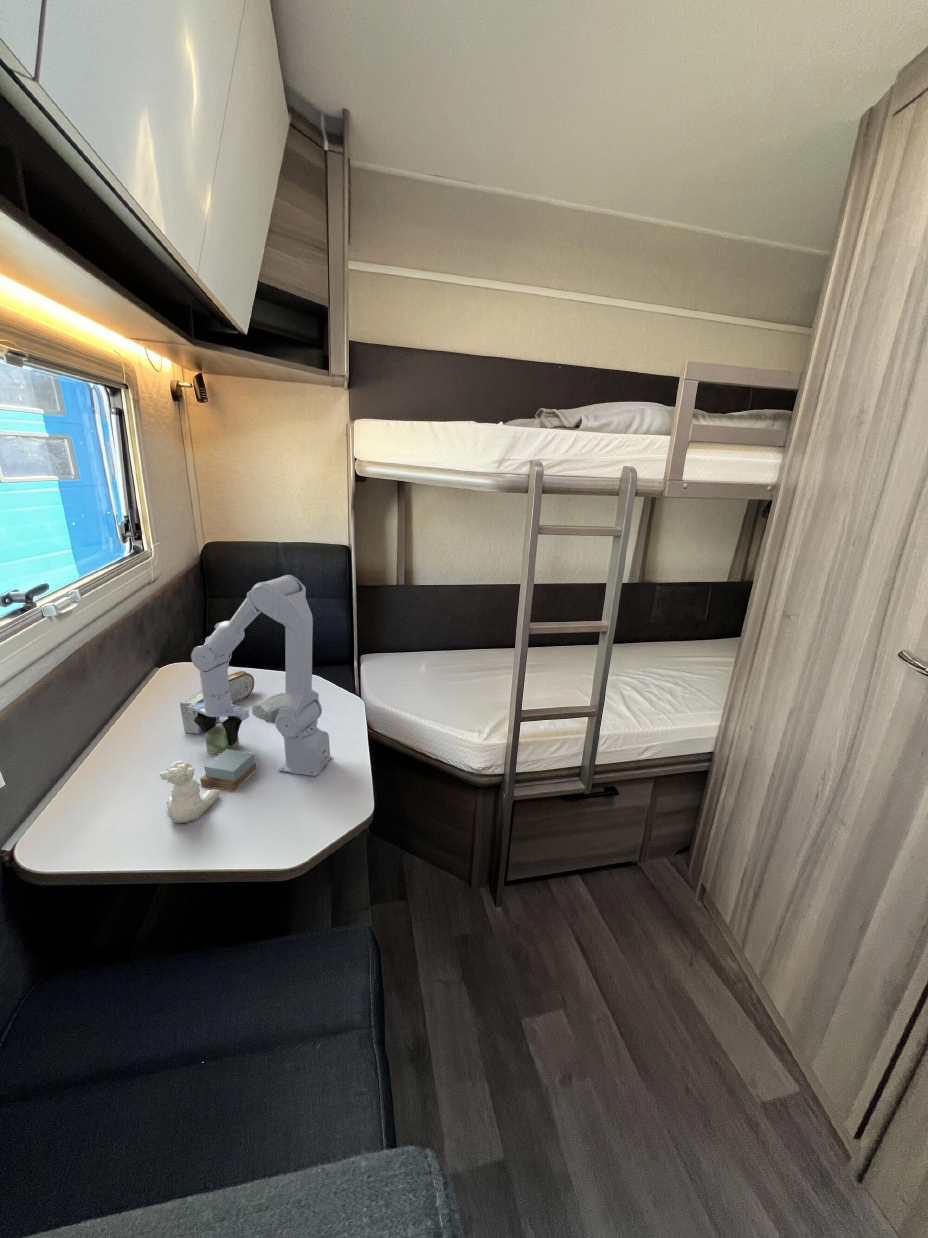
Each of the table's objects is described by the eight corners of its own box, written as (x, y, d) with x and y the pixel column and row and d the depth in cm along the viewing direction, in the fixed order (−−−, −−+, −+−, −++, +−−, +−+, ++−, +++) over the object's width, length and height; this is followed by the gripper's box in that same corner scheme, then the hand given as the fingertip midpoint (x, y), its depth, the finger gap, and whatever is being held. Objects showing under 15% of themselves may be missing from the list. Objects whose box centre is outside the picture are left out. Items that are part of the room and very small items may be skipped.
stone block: (249, 720, 131) (271, 724, 125) (246, 704, 130) (268, 707, 125) (284, 706, 141) (306, 709, 135) (282, 690, 140) (304, 693, 135)
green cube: (239, 743, 116) (236, 725, 114) (225, 754, 111) (223, 736, 110) (220, 741, 117) (218, 723, 115) (207, 752, 112) (204, 733, 111)
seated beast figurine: (221, 795, 97) (214, 744, 94) (212, 823, 89) (204, 769, 86) (169, 802, 95) (161, 750, 91) (155, 831, 87) (145, 776, 83)
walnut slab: (257, 771, 106) (256, 762, 106) (235, 793, 99) (234, 783, 98) (225, 767, 108) (224, 757, 107) (201, 788, 100) (200, 778, 99)
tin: (250, 691, 144) (247, 666, 142) (257, 694, 143) (254, 668, 140) (205, 711, 131) (201, 684, 128) (213, 714, 130) (209, 686, 127)
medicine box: (198, 734, 119) (194, 704, 117) (183, 732, 120) (179, 702, 118) (220, 720, 127) (216, 691, 124) (205, 718, 127) (201, 689, 125)
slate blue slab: (255, 763, 105) (254, 753, 105) (234, 781, 99) (233, 771, 98) (227, 758, 107) (226, 749, 106) (205, 776, 100) (204, 766, 99)
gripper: (254, 687, 112) (259, 737, 116) (200, 681, 114) (207, 730, 118) (236, 700, 106) (241, 752, 109) (179, 693, 108) (187, 744, 112)
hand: (222, 741), depth 113 cm, fingers closed on green cube, 5 cm apart
